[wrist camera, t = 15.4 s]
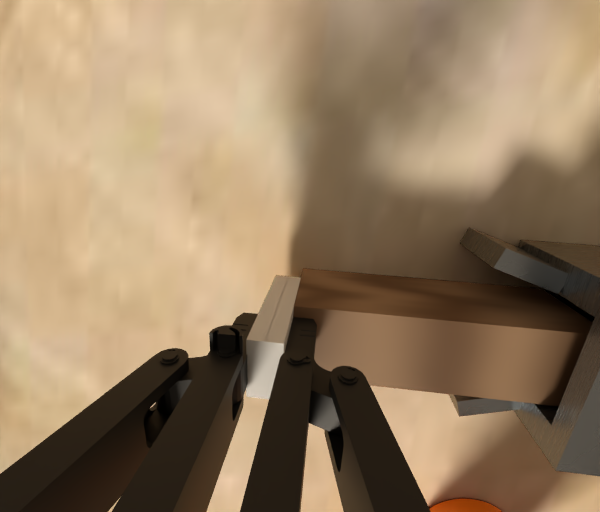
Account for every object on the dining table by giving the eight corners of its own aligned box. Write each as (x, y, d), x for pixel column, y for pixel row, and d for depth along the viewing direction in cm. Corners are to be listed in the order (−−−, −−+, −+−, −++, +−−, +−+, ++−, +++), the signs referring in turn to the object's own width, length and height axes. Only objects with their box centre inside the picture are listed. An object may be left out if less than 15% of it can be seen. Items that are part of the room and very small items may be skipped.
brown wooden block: (299, 324, 21) (289, 376, 16) (303, 268, 20) (293, 306, 15) (522, 347, 20) (581, 408, 15) (541, 288, 18) (613, 336, 14)
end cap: (431, 367, 21) (477, 468, 14) (463, 226, 18) (541, 272, 11) (613, 387, 20) (752, 504, 13) (680, 243, 17) (902, 303, 10)
